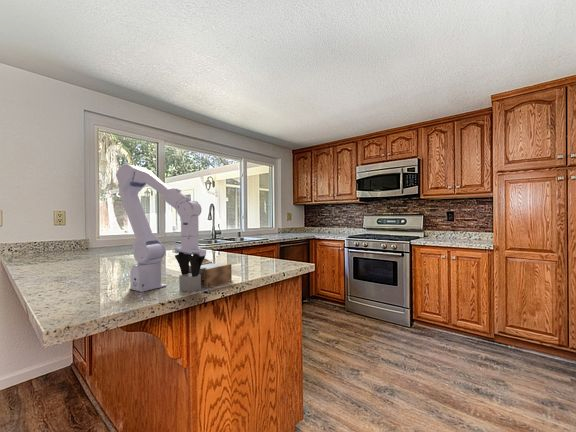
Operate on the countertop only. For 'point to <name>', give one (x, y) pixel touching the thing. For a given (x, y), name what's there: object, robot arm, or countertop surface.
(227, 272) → the frame
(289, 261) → the countertop surface
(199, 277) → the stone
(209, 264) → the trapdoor
